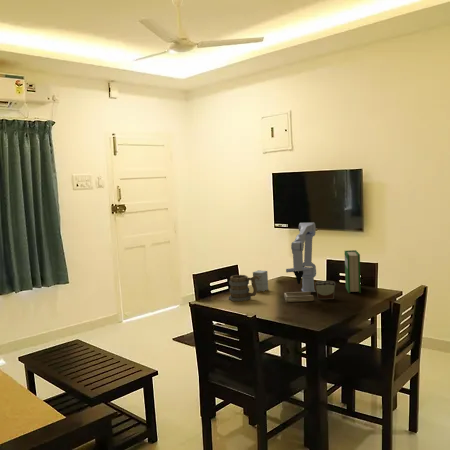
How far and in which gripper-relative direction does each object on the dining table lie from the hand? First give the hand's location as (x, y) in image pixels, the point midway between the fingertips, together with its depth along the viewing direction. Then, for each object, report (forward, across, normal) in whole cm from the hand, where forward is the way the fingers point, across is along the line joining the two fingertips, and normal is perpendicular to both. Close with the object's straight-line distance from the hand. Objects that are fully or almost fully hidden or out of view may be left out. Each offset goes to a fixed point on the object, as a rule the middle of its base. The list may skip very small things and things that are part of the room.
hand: (298, 283), depth 289 cm
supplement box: (+10, -22, +28) cm, 37 cm away
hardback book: (+10, +36, +18) cm, 42 cm away
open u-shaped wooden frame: (+9, 0, 0) cm, 9 cm away
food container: (+10, +16, 0) cm, 18 cm away
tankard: (+10, -32, +6) cm, 35 cm away
